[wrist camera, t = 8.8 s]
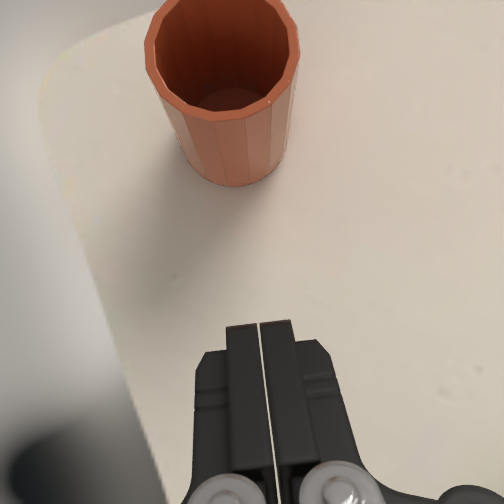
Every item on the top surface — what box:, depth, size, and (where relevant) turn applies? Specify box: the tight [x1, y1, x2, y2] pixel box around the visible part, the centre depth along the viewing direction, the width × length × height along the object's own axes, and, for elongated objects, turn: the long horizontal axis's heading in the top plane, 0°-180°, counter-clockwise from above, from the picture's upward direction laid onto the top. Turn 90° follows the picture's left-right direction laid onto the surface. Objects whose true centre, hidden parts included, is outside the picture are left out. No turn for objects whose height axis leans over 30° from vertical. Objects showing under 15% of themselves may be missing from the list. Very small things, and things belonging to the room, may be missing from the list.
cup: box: [144, 0, 300, 187], centre depth 22 cm, size 6×6×8 cm
